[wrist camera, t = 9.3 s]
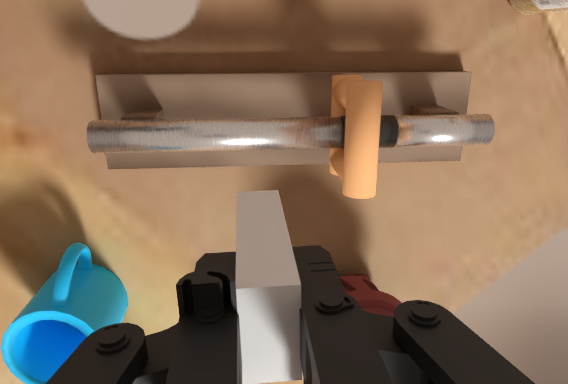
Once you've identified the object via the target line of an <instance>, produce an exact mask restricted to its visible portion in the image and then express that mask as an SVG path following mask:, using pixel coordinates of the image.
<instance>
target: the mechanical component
mask: <svg viewBox="0 0 568 384" xmlns="http://www.w3.org/2000/svg"><path fill="white" fill-rule="evenodd" d="M339 278H340V280H341V283H342V285H343V287H344V290H345V292H346V293H347V294H348V295H350V296H352V297H354V298H355V300H356V301H357V302H358V303H359V306H360V308H361V310H364V311H366V312H369V313H374V314H379V315H387V316H394V309H395V308H396V307H397V306H398V305H399V304H401V302H400V301H399V300H398V299H396V298H395V297H393V296H391V295H389V294H387V293H384V292H381V291H379V290H378V289H377V287H376V286H375V285H374V284H373V283H372V282H371V281H370V280H369V278H368V276H366V275H358V276H355V275H348V276H342V277H339Z"/></svg>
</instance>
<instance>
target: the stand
mask: <svg viewBox="0 0 568 384" xmlns="http://www.w3.org/2000/svg"><path fill="white" fill-rule="evenodd" d="M471 74H472V72H467V71H404V72H286V73H169V74H99V75H95V76H96V84H97V91H98V98H99V106H100V113H101V120H153V119H215V118H278V117H331V100H332V75H362V76H363V78H362V80H370V81H382V82H383V91H382V106H381V115H394V116H403V115H465V114H466V113H467V105H468V97H469V90H470V82H471ZM461 151H462V146H416V147H393V148H379V150H378V163H388V162H430V161H460V159H461ZM106 157H107V164H108V169H138V168H180V167H221V166H263V165H305V164H330V148H323V149H276V150H229V151H182V152H135V153H106Z"/></svg>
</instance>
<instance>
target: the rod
mask: <svg viewBox="0 0 568 384" xmlns="http://www.w3.org/2000/svg"><path fill="white" fill-rule="evenodd" d="M345 122H346V116H340V117H278V118H215V119H153V120H91V121H90V122H89V124H88V127H87V141H88V145H89V148H90V150H91V152H92V153H135V152H182V151H229V150H276V149H323V148H341V149H344V146H345ZM493 136H494V121H493V119H492V117H491V116H490V115H489V114H465V115H403V116H394V115H381V120H380V135H379V148H393V147H416V146H463V145H488V144H489V143H490V142H491V141H492V139H493Z"/></svg>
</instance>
